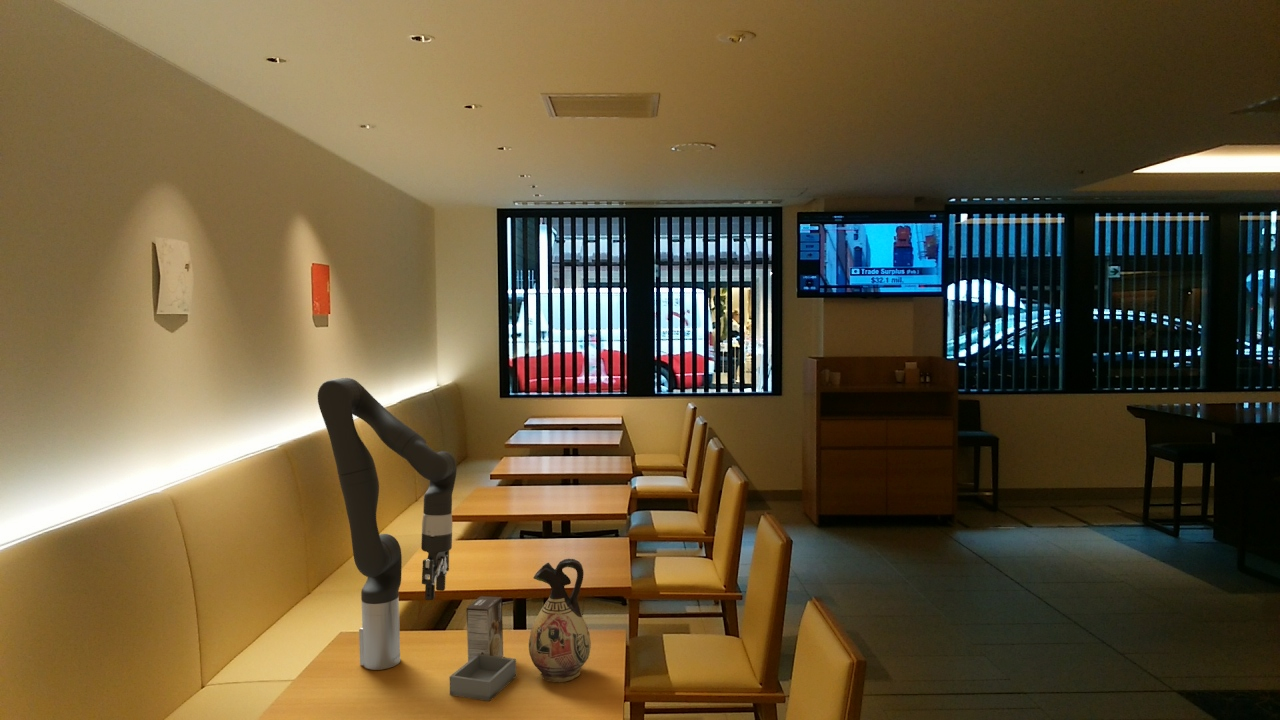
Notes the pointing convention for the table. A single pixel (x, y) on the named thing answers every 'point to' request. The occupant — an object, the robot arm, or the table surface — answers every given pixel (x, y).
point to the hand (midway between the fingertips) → (435, 595)
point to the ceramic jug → (560, 627)
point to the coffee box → (485, 627)
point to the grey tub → (482, 677)
